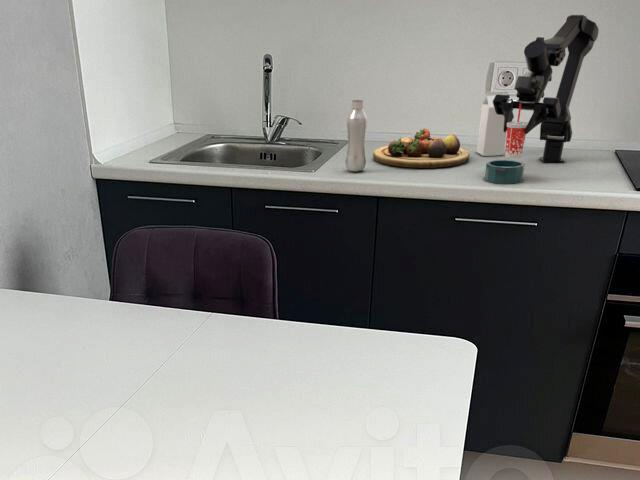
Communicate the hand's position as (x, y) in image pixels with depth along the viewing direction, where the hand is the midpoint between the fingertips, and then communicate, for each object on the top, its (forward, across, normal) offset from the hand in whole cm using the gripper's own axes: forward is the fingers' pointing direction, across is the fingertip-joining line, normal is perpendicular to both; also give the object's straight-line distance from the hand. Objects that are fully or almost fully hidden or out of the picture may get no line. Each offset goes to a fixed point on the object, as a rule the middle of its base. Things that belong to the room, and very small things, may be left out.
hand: (514, 132), depth 208 cm
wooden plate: (-1, -37, +20) cm, 42 cm away
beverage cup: (+4, 0, +6) cm, 7 cm away
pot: (+9, -2, +10) cm, 13 cm away
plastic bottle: (+18, -46, +1) cm, 49 cm away
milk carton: (-15, -22, +34) cm, 43 cm away
